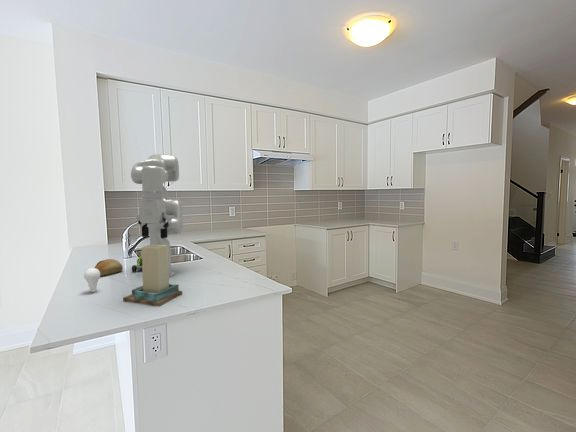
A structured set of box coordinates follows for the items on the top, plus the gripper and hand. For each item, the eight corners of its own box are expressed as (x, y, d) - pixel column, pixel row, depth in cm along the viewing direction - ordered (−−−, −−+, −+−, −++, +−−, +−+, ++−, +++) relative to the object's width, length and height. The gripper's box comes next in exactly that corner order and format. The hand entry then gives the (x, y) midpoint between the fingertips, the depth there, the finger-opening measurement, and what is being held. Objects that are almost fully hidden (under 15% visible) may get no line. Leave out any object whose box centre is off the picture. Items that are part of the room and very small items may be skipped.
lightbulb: (84, 295, 127) (82, 270, 126) (86, 291, 132) (84, 267, 131) (100, 293, 130) (99, 269, 129) (102, 289, 135) (100, 265, 134)
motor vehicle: (131, 273, 161) (130, 254, 160) (139, 265, 180) (138, 248, 179) (154, 271, 165) (153, 253, 164) (159, 263, 183) (158, 247, 182)
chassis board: (123, 301, 120) (122, 290, 120) (149, 290, 133) (148, 280, 133) (158, 306, 114) (157, 295, 114) (181, 294, 128) (181, 284, 127)
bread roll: (88, 276, 155) (87, 261, 154) (115, 269, 169) (115, 256, 168) (100, 278, 151) (99, 263, 150) (126, 271, 164) (126, 257, 164)
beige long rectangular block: (171, 292, 126) (169, 244, 124) (158, 298, 119) (156, 248, 117) (156, 290, 128) (154, 243, 126) (143, 296, 121) (140, 246, 119)
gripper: (129, 196, 119) (131, 237, 121) (163, 196, 113) (165, 240, 115) (143, 195, 126) (145, 234, 128) (176, 196, 120) (177, 237, 122)
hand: (154, 237), depth 121 cm, fingers open, 9 cm apart
